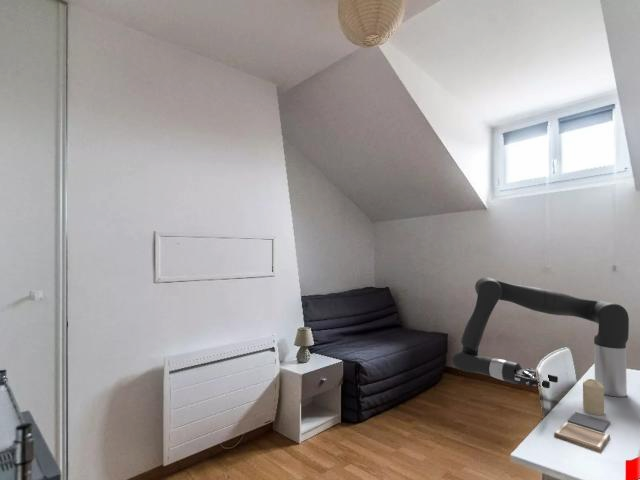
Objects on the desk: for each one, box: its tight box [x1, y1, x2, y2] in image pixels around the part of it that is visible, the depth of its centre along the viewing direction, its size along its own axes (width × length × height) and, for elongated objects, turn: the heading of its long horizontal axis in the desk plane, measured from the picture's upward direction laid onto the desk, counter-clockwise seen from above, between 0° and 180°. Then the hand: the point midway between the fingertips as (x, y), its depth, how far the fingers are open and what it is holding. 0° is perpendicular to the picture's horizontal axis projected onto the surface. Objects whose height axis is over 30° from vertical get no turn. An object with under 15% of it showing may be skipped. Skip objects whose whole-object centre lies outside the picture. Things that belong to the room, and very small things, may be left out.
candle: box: [582, 378, 605, 416], centre depth 117 cm, size 6×6×10 cm
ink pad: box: [567, 411, 611, 433], centre depth 109 cm, size 9×9×1 cm
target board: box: [553, 421, 611, 453], centre depth 100 cm, size 11×10×1 cm
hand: (553, 382), depth 125 cm, fingers open, 8 cm apart
